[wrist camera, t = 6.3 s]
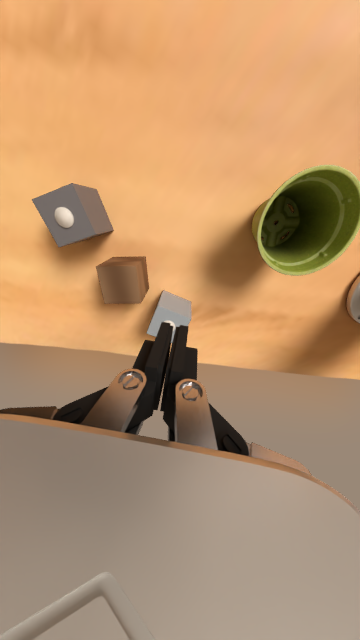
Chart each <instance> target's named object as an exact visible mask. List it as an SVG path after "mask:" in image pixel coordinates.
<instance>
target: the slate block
mask: <svg viewBox="0 0 360 640" xmlns="http://www.w3.org/2000/svg"><path fill="white" fill-rule="evenodd" d="M190 321H191V301H188V300H186V299H183V298H181V297H179V296H176V295H174V294H171V293H169V292H167V291H164V290H163V292H162V294H161V297H160V299H159V302H158V304H157V307H156V309H155V311H154V314H153V317H152V319H151V322H150V325H149V328H148V330H147V334H149V335H152V336H155V337H156V336H157V333H158V331H159V328H160V325H161V322H166V323H170V326H173V333H172V340H171V343H172V342H173V338H174V334H175V329H176V327H180V325H184V326H188V324H189V322H190Z"/></svg>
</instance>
